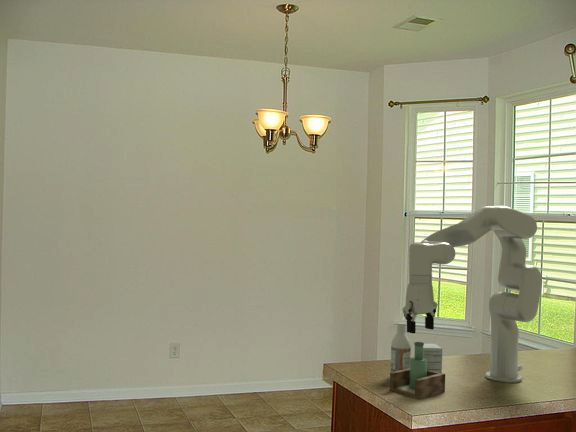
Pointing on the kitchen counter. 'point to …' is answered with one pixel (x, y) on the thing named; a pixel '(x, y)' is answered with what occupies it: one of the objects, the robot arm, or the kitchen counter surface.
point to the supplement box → (433, 357)
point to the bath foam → (400, 349)
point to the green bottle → (417, 365)
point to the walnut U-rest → (417, 384)
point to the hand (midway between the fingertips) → (420, 330)
